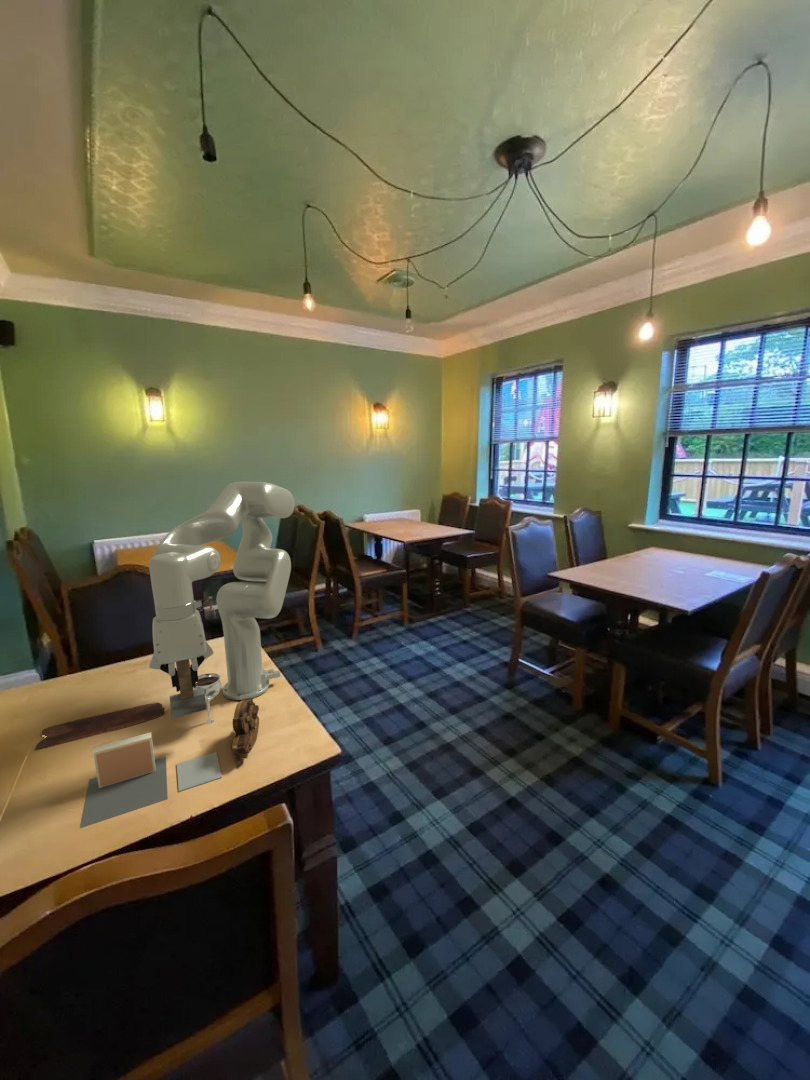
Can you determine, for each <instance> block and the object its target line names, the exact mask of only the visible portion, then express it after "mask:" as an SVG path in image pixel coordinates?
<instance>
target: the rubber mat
mask: <svg viewBox="0 0 810 1080" xmlns="http://www.w3.org/2000/svg"><path fill="white" fill-rule="evenodd" d="M155 765H156V771H154V772H151V773H148V774H144V775H141V776H138V777H134V778H131V779H128V780H124V781H121V782H118V783H114V784H111V785H108V786H105V787H101V788H99V785H98V779H97V776H95V777H93V778H89V780H88V783H87V789H86V795H85V800H84V804H83V809H82V814H81V816H82V817H81V821H80V826H79V829H82V828H86V827H88V826H91V825H94V824H97V823H100V822H103V821H106V820H108V819H113V818H115V817H118V816H121V815H124V814H127V813H130V812H133V811H134V812H135V811H137V810H139V809H143V808H145V807H148V806H151V805H154V804H157V803H160V802H163V801H167V800H168V799H169V797H168V776H167V757H166V756H163V757H161V758H157V759H155Z"/></svg>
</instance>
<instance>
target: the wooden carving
mask: <svg viewBox="0 0 810 1080" xmlns="http://www.w3.org/2000/svg"><path fill="white" fill-rule="evenodd" d="M259 709H260V707H259V705H258V704H257V705H256V702H254V700H253V698H251V697H250V698H242V700H239V702H238V703H237V704H236V706H235V708H234V713H233V714H234V715H233V718H232V729H233V731H234V734H235V735H234V737H233V740H232V746H231V752H232V754H233V755H234V757H235V760H236V761H242V760H243V759H248V756H249V751H250V749H253V747H254V746H255V744H256V741H257V738H258V733H259V727H260V726H259V725H260V717H259V715H258V713H259Z"/></svg>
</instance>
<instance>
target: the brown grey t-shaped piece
mask: <svg viewBox="0 0 810 1080" xmlns="http://www.w3.org/2000/svg"><path fill="white" fill-rule="evenodd" d="M190 663H191V661H190V659H187V660H183V661H178V662H175V667H176V670H177V673H178V678H179V685H180V691H179V693H176V694H172V695H169V705H170V711H171V718H172V720H175V719H177V718H181V717H184V716H187V715H191V714H195V713H198V712H202V711H203V712H204V711H206V710H207V704H206V700H205V693H204V688H200V689H196V690H193V687H192V680H191V670H190V665H191V664H190ZM207 711H208V710H207Z"/></svg>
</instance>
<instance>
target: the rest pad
mask: <svg viewBox="0 0 810 1080" xmlns="http://www.w3.org/2000/svg"><path fill="white" fill-rule="evenodd" d="M176 772H177V773H176V774H177V787H178V788H177V789H178V793H180V792H183V791H187V790H189V789H193V788H195V787H198V786H201V785H205V784H208V783H210V782H211V783H212V782H213V781H217V780H219V779H222V778H223V775H222V772H221V766H220V763H219V757H218V753H217V751H215V752H211V753H208V754H205V755H202V756H198V757H195V758H192V759H188V760H185V761H182V762H178V763H176Z"/></svg>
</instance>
